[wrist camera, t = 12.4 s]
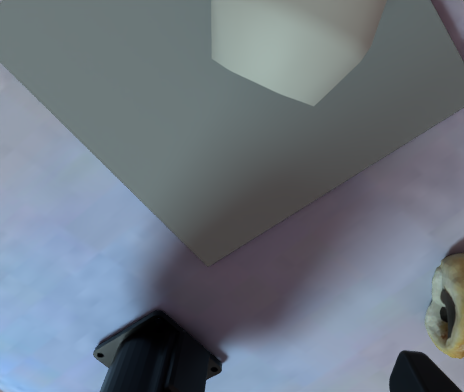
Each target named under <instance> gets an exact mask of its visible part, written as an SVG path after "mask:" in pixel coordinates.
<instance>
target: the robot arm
mask: <svg viewBox="0 0 464 392" xmlns="http://www.w3.org/2000/svg"><path fill="white" fill-rule="evenodd" d="M157 318H159V319H157ZM93 355H94V357H95V358H96V359H97V360H99V361H100V362H101V363H103V364H104V365H105V366H107V367H108V368H109V370H108V372H107V375H106V377H105V380H104V382H103V385H102V387H101V390H100V392H205V385H206V380H207V379H209V378H211V377H213V376H215V375H217V374H219V373H220V372H221V371H222V363H221V362H220V361H219V360H218V359H217V358H216V357H215V356H213V355H212V354H211V353H210V352H209V351H208V350H207V349H205V348H204V347H203V346H202V345H201V344H200V343H199V342H197V341H196V340H195V339H194V338H193V337H192V336H191V335H189V334H188V333H187V332H186V331H185V330H184V329H183V328H181V327H180V326H179V325H178V324H177V323H176V322H175V321H174V320H172V319H171V318H170V317H169V316H168V315H167V314H166V313H164V312H163V311H154V312H152V313H151V314H149V315H148V316H146V317H144V318H143V319H141V320H139V321H138V322H136V323H134V324H133V325H131V326H130V327H128V328H126V329H125V330H123V331H121V332H120V333H118V334H116V335H115V336H113V337H112V338H110V339H108V340H107V341H105V342H103V343H102V344H100V345H98V346H97V347H96V348H95V350H94V353H93ZM389 388H390V392H462V391H461V390H460V389H459V388H458V387H457V386H456V385H455V384H454V383H453V382H452V381H451V380H450V379H449V378H448V377H447V376H446V375H445V374H444V373H443V372H442V371H441V370H440V369H439V367H438V366H437V365H436V364H435V363H434V362H433V361H432V360H431V359H430V358H429V357H428V356H427V355H425V354H424V353H422V352H417V351H406V350H404V351H401V352H400V353H399V355H398V358H397V360H396V363H395V365H394V368H393V371H392V373H391V376H390V380H389Z"/></svg>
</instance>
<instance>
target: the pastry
mask: <svg viewBox="0 0 464 392" xmlns="http://www.w3.org/2000/svg"><path fill="white" fill-rule="evenodd" d="M425 326H426V329H427V332H428V334H429V336H430V338H431V339H432V341H433V342H434V344H435V345H436V347H437V348H438V349H439V350H441V351H442V352H443V353H445V354H447V355H448V356H450V357H452V358H459V359H461V358H463V357H464V253H459V254H453V255H450V256H448V257H446V258H444V259H443V260H442V261H441V265H440V266H439V267H438V268H437V269H436V271H435V274H434V277H433V280H432V303H431V304H430V306H429V308H428V310H427V313H426V318H425Z"/></svg>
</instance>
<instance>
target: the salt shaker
mask: <svg viewBox="0 0 464 392" xmlns="http://www.w3.org/2000/svg"><path fill="white" fill-rule="evenodd" d="M386 1H387V0H211V38H212V59H213V60H214V61H216V62H218V63H219V64H221V65H222V66H224V67H225V68H227V69H228V70H230V71H232V72H234V73H236V74H238V75H240V76H242V77H245V78H247V79H249V80H251V81H253V82H255V83H257V84H260V85H262V86H264V87H266V88H268V89H270V90H272V91H275V92H277V93H279V94H281V95H284V96H287V97H289V98H292V99H295V100H298V101H301V102H303V103H306V104H309V105H312V106H315V105H316V104H317V103H318V102H319V101H320V100H321V99H322V98H323V97H324V96H325V95H327V94H328V93H329V92H330V91H331V90H332V89H333V88H334V87H335V86H336V85H337V84H338V83H339V82H340V81H341V80H342V79H343V78H344V77H345V76H346V75H347V74H348V73H349V72H350V71H351V70H353V69H354V68H355V67H356V66H357V65H358V64H359V63H360V62H361V60H362V59H363V57H364V56H365V55H366V53H367V52H368V50H369V49H370V47H371V45H372V42H373V39H374V36H375V33H376V30H377V28H378V25H379V22H380V19H381V16H382V13H383V10H384V7H385V4H386Z"/></svg>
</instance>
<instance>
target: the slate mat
mask: <svg viewBox="0 0 464 392" xmlns="http://www.w3.org/2000/svg"><path fill="white" fill-rule="evenodd" d="M0 63H1V64H2V65H3V66H4V67H5V68H6V69H7V70H8V71H9V72H10V73H12V74H13V75H14V76H15V77H16V78H17V79H18V80H19V81H20V82H21V83H22V84H23V85H24V86H25V87H26V88H27V89H28V90H29V91H30V92H31V93H32V94H33V95H34V96H35V97H36V98H37V99H38V100H39V101H40V102H41V103H42V104H43V105H44V106H45V107H46V108H47V109H48V110H49V111H50V112H51V113H52V114H53V115H54V116H55V117H56V118H57V119H58V120H59V121H60V122H61V123H62V124H63V125H64V126H65V127H66V128H67V129H68V130H69V131H70V132H71V133H72V134H73V135H74V136H75V137H76V138H77V139H78V140H79V141H80V142H82V143H83V144H84V145H85V146H86V147H87V148H88V149H89V150H90V151H91V152H92V153H93V154H94V155H95V156H96V157H97V158H98V159H99V160H100V161H101V162H102V163H103V164H104V165H105V166H106V167H107V168H108V169H109V170H110V171H111V172H112V173H113V174H114V175H115V176H116V177H117V178H118V179H119V180H120V181H121V182H122V183H123V184H124V185H125V186H126V187H127V188H128V189H129V190H130V191H131V192H132V193H133V194H134V195H135V196H136V197H137V198H138V199H139V200H140V201H141V202H142V203H143V204H144V205H145V206H146V207H147V208H148V209H149V210H150V211H152V212H153V213H154V214H155V215H156V216H157V217H158V218H159V219H160V220H161V221H162V222H163V223H164V224H165V225H166V226H167V227H168V228H169V229H170V230H171V231H172V232H173V233H174V234H175V235H176V236H177V237H178V238H179V239H180V240H181V241H182V242H183V243H184V244H185V245H186V246H187V247H188V248H189V249H190V250H191V251H192V252H193V253H194V254H195V255H196V256H197V257H198V258H199V259H200V260H201V261H202V262H203V263H204V264H205V265H206V266H207V267H209V266H211V265H212V264H214V263H216V262H217V261H219V260H220V259H222V258H224V257H225V256H227V255H228V254H230V253H232V252H233V251H235V250H236V249H238V248H240V247H241V246H243V245H244V244H246V243H248V242H249V241H251V240H252V239H254V238H256V237H257V236H259V235H260V234H262V233H264V232H265V231H267V230H268V229H270V228H272V227H273V226H275V225H276V224H278V223H280V222H281V221H283V220H284V219H286V218H288V217H289V216H291V215H292V214H294V213H296V212H297V211H299V210H300V209H302V208H304V207H305V206H307V205H308V204H310V203H312V202H313V201H315V200H316V199H318V198H320V197H321V196H323V195H324V194H326V193H328V192H329V191H331V190H332V189H334V188H336V187H337V186H339V185H340V184H342V183H344V182H345V181H347V180H348V179H350V178H352V177H353V176H355V175H357V174H358V173H360V172H361V171H363V170H365V169H366V168H368V167H369V166H371V165H373V164H374V163H376V162H377V161H379V160H381V159H382V158H384V157H385V156H387V155H389V154H390V153H392V152H393V151H395V150H397V149H398V148H400V147H401V146H403V145H405V144H406V143H408V142H409V141H411V140H413V139H414V138H416V137H417V136H419V135H421V134H422V133H424V132H425V131H427V130H429V129H430V128H432V127H433V126H435V125H437V124H438V123H440V122H441V121H443V120H445V119H446V118H448V117H449V116H451V115H453V114H454V113H456V112H457V111H459V110H461V109H462V108H464V62H463V60H462V58H461V56H460V54H459V52H458V51H457V49H456V47H455V45H454V43H453V41H452V39H451V38H450V36H449V34H448V32H447V30H446V28H445V26H444V24H443V23H442V21H441V19H440V17H439V15H438V13H437V11H436V10H435V8H434V6H433V4H432V2H431V0H387V1H386V4H385V7H384V10H383V13H382V16H381V19H380V22H379V25H378V28H377V30H376V33H375V36H374V39H373V42H372V45H371V47H370V49H369V50H368V52H367V53H366V55H365V56H364V57H363V59H362V60H361V62H360V63H359V64H358V65H357V66H356V67H355V68H354V69H353V70H351V71H350V72H349V73H348V74H347V75H346V76H345V77H344V78H343V79H342V80H341V81H340V82H339V83H338V84H337V85H336V86H335V87H334V88H333V89H332V90H331V91H330V92H329V93H328V94H327V95H325V96H324V97H323V98H322V99H321V100H320V101H319V102H318V103H317V104H316V105H315V106H312V105H309V104H306V103H303V102H301V101H298V100H295V99H292V98H289V97H287V96H284V95H281V94H279V93H277V92H275V91H272V90H270V89H268V88H266V87H264V86H262V85H260V84H257V83H255V82H253V81H251V80H249V79H247V78H245V77H242V76H240V75H238V74H236V73H234V72H232V71H230V70H228V69H227V68H225V67H224V66H222V65H221V64H219V63H218V62H216V61H214V60H213V59H212V38H211V0H3V1H2V3H1V4H0Z"/></svg>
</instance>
